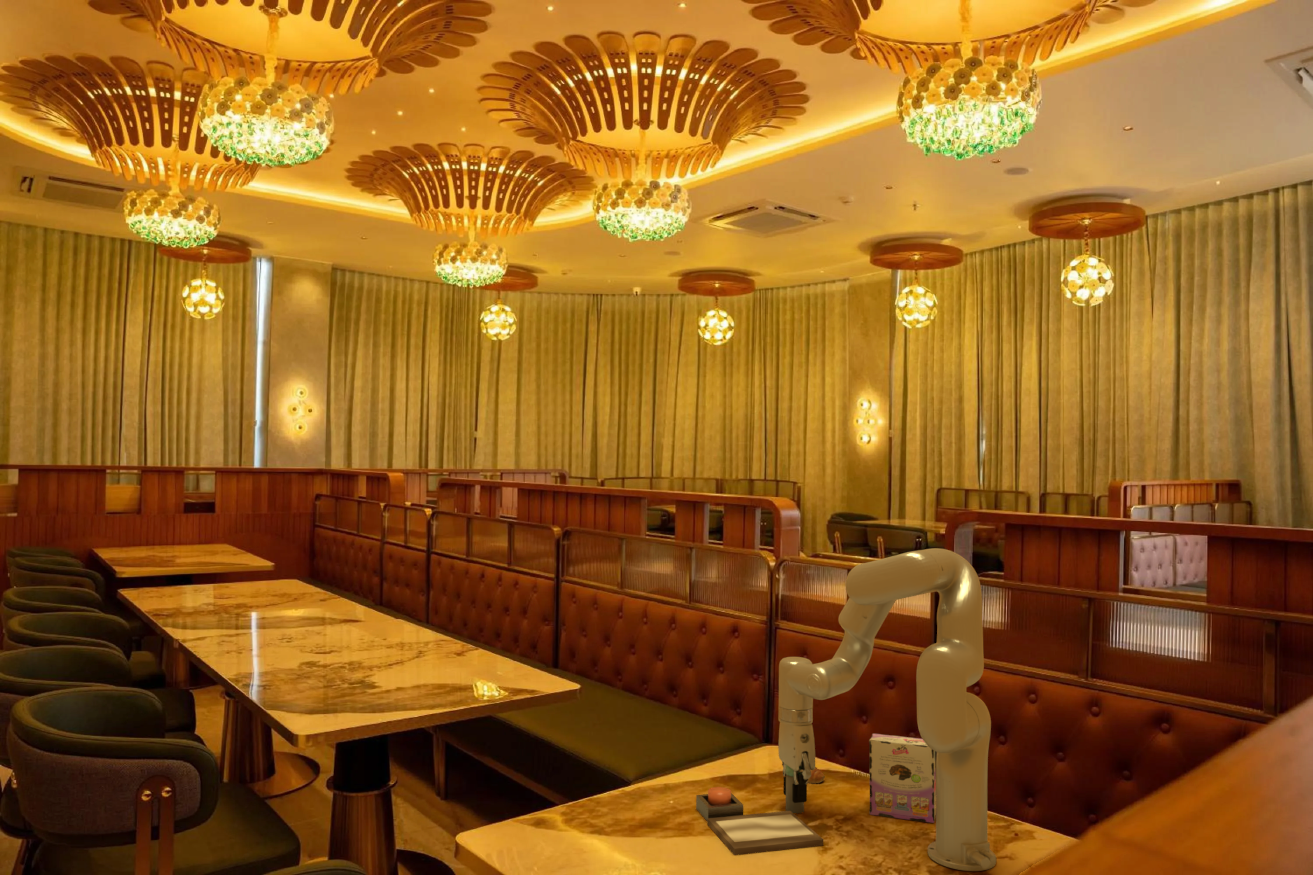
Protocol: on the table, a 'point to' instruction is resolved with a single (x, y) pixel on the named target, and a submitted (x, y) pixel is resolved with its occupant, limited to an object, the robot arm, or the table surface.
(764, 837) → the board
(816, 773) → the pastry
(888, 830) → the table surface
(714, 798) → the button
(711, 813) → the button housing
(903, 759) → the candy box
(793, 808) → the cylinder
